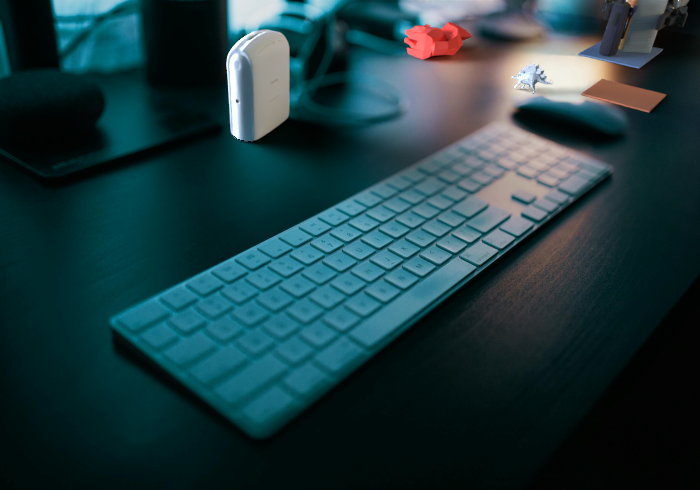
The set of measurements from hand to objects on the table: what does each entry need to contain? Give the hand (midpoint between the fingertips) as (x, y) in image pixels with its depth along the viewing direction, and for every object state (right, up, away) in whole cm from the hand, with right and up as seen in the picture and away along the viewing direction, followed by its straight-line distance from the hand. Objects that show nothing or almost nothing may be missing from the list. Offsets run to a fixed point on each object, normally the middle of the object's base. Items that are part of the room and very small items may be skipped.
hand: (632, 17), depth 118 cm
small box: (+2, -4, +7) cm, 8 cm away
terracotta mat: (-11, -21, -19) cm, 30 cm away
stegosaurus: (-27, -20, -20) cm, 40 cm away
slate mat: (0, -6, +4) cm, 7 cm away
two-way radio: (-4, -7, +1) cm, 8 cm away
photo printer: (-69, -30, -40) cm, 85 cm away
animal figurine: (-40, -8, -4) cm, 41 cm away
